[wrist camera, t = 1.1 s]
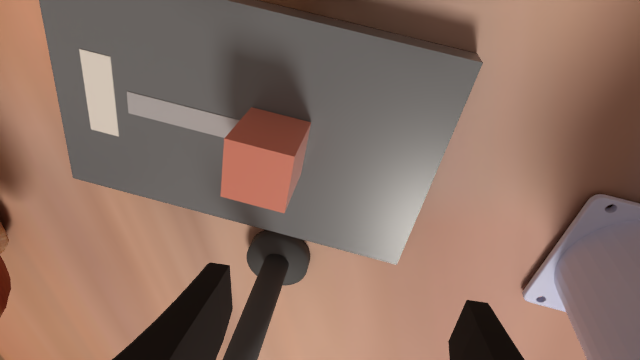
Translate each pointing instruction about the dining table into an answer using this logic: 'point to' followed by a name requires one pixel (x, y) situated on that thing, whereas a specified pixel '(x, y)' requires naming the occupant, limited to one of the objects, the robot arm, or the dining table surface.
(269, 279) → the post
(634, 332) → the robot arm
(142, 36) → the breaker panel
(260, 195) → the knob
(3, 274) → the mug
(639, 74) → the dining table surface
